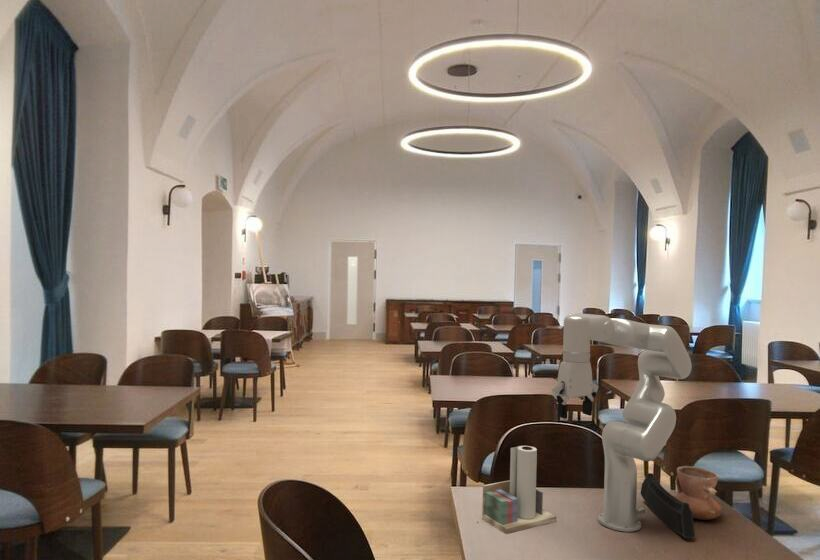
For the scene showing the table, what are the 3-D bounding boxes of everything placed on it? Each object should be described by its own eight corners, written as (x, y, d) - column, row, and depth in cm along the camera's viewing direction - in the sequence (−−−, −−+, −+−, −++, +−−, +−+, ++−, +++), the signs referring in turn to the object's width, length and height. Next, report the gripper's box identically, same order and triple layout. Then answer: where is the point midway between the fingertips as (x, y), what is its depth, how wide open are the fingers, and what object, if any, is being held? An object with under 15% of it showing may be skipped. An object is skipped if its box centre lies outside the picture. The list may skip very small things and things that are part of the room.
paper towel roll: (538, 515, 177) (540, 447, 177) (529, 521, 172) (531, 451, 172) (518, 509, 181) (520, 443, 181) (509, 514, 177) (510, 447, 177)
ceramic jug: (734, 525, 176) (735, 480, 177) (692, 526, 174) (692, 480, 175) (697, 503, 194) (698, 462, 194) (659, 504, 192) (659, 463, 193)
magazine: (700, 515, 161) (655, 454, 190) (689, 515, 161) (646, 454, 190) (690, 563, 166) (648, 497, 195) (679, 563, 166) (639, 496, 195)
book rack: (482, 518, 177) (482, 485, 177) (530, 507, 187) (531, 475, 187) (506, 533, 166) (507, 498, 166) (556, 521, 176) (557, 487, 176)
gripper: (588, 354, 171) (586, 410, 171) (544, 357, 163) (543, 416, 163) (607, 358, 164) (606, 416, 164) (563, 360, 156) (561, 422, 156)
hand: (574, 416), depth 164 cm, fingers open, 9 cm apart
